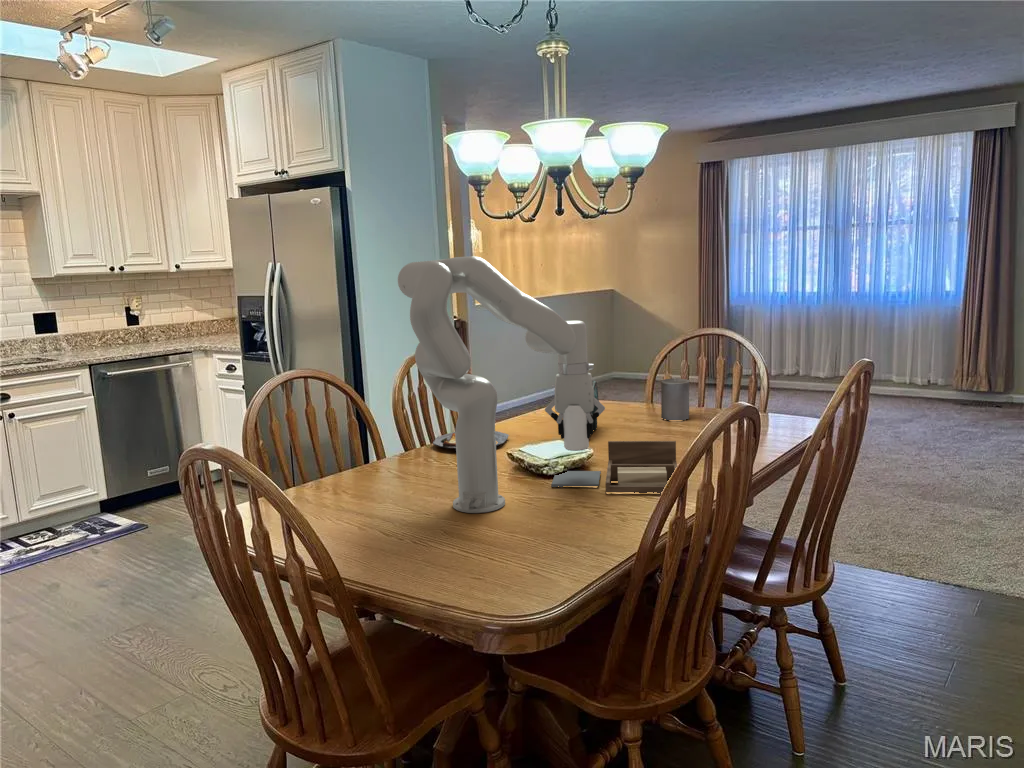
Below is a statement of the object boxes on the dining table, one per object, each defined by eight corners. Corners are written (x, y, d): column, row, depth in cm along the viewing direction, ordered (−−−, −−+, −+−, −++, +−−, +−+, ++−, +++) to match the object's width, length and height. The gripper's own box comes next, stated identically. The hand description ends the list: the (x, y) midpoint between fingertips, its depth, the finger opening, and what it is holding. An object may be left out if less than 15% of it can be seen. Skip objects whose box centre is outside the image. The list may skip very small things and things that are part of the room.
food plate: (499, 454, 228) (498, 442, 228) (425, 454, 233) (424, 443, 232) (513, 436, 253) (513, 426, 252) (446, 437, 257) (446, 427, 257)
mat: (598, 488, 191) (598, 484, 191) (551, 487, 193) (551, 484, 193) (600, 474, 203) (600, 471, 202) (556, 474, 205) (556, 471, 204)
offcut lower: (667, 492, 187) (667, 482, 187) (618, 491, 189) (618, 482, 188) (666, 486, 192) (666, 476, 191) (618, 486, 194) (618, 476, 193)
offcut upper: (666, 482, 186) (666, 472, 186) (617, 482, 188) (617, 473, 188) (665, 476, 191) (665, 467, 191) (617, 476, 193) (617, 467, 193)
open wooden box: (680, 494, 183) (680, 463, 181) (605, 494, 186) (604, 463, 184) (675, 469, 204) (675, 440, 203) (609, 469, 207) (608, 441, 206)
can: (587, 451, 193) (585, 405, 191) (562, 451, 194) (560, 405, 192) (590, 444, 199) (588, 400, 197) (565, 444, 200) (563, 400, 198)
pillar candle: (657, 416, 270) (657, 375, 268) (684, 415, 271) (683, 374, 269) (666, 423, 261) (665, 380, 258) (693, 421, 262) (693, 378, 259)
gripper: (607, 365, 195) (609, 433, 198) (541, 367, 198) (544, 434, 201) (606, 370, 188) (608, 440, 191) (537, 372, 191) (541, 441, 194)
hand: (575, 436), depth 196 cm, fingers closed on can, 6 cm apart
